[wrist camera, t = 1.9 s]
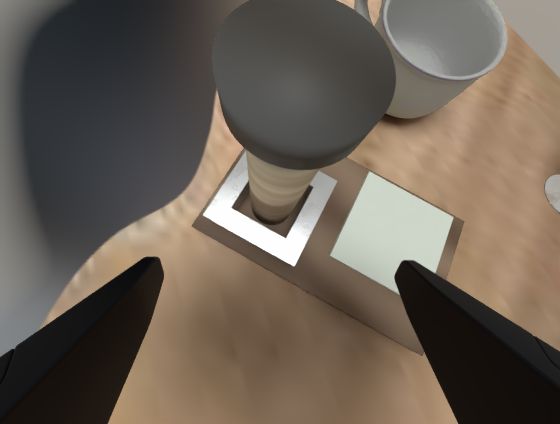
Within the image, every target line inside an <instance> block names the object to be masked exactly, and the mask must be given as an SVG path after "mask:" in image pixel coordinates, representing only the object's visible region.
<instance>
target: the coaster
mask: <svg viewBox="0 0 560 424" xmlns="http://www.w3.org/2000/svg"><path fill="white" fill-rule="evenodd" d="M453 218H454V217H452V216H451V215H449V214H447V213H445V212H443V211H441V210H440V209H438V208H436V207H434V206H432V205H430V204H429V203H427V202H425V201H423V200H421V199H419V198H418V197H416V196H414V195H412V194H410V193H408V192H407V191H405V190H403V189H401V188H399V187H397V186H396V185H394V184H392V183H390V182H388V181H386V180H385V179H383V178H381V177H379V176H377V175H375V174H373V173H372V172H370V171H369V172H368V173H367V174H366V177H365V179H364V181H363V183H362V185H361V187H360V189H359V191H358V194H357V196H356V198H355V200H354V202H353V204H352V206H351V208H350V211H349V213H348V215H347V217H346V219H345V221H344V223H343V225H342V228H341V230H340V232H339V234H338V236H337V238H336V240H335V242H334V245H333V247H332V249H331V251H330V253H329V255H328V256H330V257H331V258H333V259H335V260H337V261H338V262H340V263H342V264H344V265H346V266H347V267H349V268H351V269H353V270H355V271H356V272H358V273H360V274H362V275H364V276H365V277H367V278H369V279H371V280H373V281H374V282H376V283H378V284H380V285H382V286H383V287H385V288H387V289H389V290H390V291H392V292H394V293H396V294H398V295H399V296H400V294H399V291H398V288H397V285H396V283H395V279H394V275H395V273H396V271H397V269H398V267H399V265H400V263H401V261H403V260H414V261H416V262H418V263H419V264H421V265H423V266H424V267H426V268H427V269H429V270H431V271H432V272H434V273H436V270H437V267H438V264H439V261H440V258H441V254H442V251H443V248H444V245H445V242H446V239H447V236H448V233H449V230H450V227H451V224H452V221H453Z"/></svg>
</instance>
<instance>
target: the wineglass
mask: <svg viewBox="0 0 560 424" xmlns="http://www.w3.org/2000/svg"><path fill="white" fill-rule="evenodd" d="M545 192H546V196H547V198H548V200H549V202H550V204H551V205H552V206H553V207H554V208H555V209H556V210H557V211H558V212H560V175H558V174H557V175H552V176H551V177H549V178H548V179H547V181H546V183H545Z"/></svg>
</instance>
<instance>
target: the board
mask: <svg viewBox="0 0 560 424" xmlns="http://www.w3.org/2000/svg"><path fill="white" fill-rule="evenodd" d="M245 151H246V149H245V148H243V150H242V151H241V153H240V154H239V156H238V157H237V159H236V160H235V162H234V163H233V165H232V166H231V168H230V169H229V171H228V172H227V174H226V175H225V177H224V178H223V180H222V181H221V183H220V184H219V186H218V187H217V189H216V190H215V192H214V193H213V195H212V196H211V198H210V199H209V201H208V202H207V204H206V205H205V207H204V208H203V210H202V211H201V213H200V214H199V216H198V217H197V219H196V220H195V221H194V223H193V224H192V227H194V228H196V229H197V230H199V231H201V232H203V233H204V234H206V235H208V236H210V237H212V238H213V239H215V240H217V241H219V242H220V243H222V244H224V245H226V246H227V247H229V248H231V249H233V250H235V251H236V252H238V253H240V254H242V255H243V256H245V257H247V258H249V259H251V260H252V261H254V262H256V263H258V264H259V265H261V266H263V267H265V268H267V269H268V270H270V271H272V272H274V273H275V274H277V275H279V276H281V277H283V278H284V279H286V280H288V281H290V282H291V283H293V284H295V285H297V286H298V287H300V288H302V289H304V290H306V291H307V292H309V293H311V294H313V295H314V296H316V297H318V298H320V299H322V300H323V301H325V302H327V303H329V304H330V305H332V306H334V307H336V308H338V309H339V310H341V311H343V312H345V313H346V314H348V315H350V316H352V317H354V318H355V319H357V320H359V321H361V322H362V323H364V324H366V325H368V326H369V327H371V328H373V329H375V330H377V331H378V332H380V333H382V334H384V335H385V336H387V337H389V338H391V339H393V340H394V341H396V342H398V343H400V344H401V345H403V346H405V347H407V348H409V349H410V350H412V351H414V352H416V353H417V354H419V355H421V356H423V353H424V350H423V348H422V346H421V344H420V342H419V340H418V337H417V335H416V333H415V331H414V329H413V327H412V325H411V323H410V320H409V318H408V316H407V313H406V310H405V308H404V305H403V302H402V299H401V297H400V296H399V295H398V294H396V293H394V292H392V291H390V290H389V289H387V288H385V287H383V286H382V285H380V284H378V283H376V282H374V281H373V280H371V279H369V278H367V277H365V276H364V275H362V274H360V273H358V272H356V271H355V270H353V269H351V268H349V267H347V266H346V265H344V264H342V263H340V262H338V261H337V260H335V259H333V258H331V257H330V256H328V255H329V253H330V251H331V249H332V247H333V245H334V242H335V240H336V238H337V236H338V234H339V232H340V230H341V228H342V225H343V223H344V221H345V219H346V217H347V215H348V213H349V211H350V208H351V206H352V204H353V202H354V200H355V198H356V196H357V194H358V191H359V189H360V187H361V185H362V183H363V181H364V179H365V177H366V174H367V173H368V172H369V171H370V172H372V173H373V174H375V175H377V176H379V177H381V178H383V179H385V180H386V181H388V182H390V183H392V184H394V185H396V186H397V187H399V188H401V189H403V190H405V191H407V192H408V193H410V194H412V195H414V196H416V197H418V198H419V199H421V200H423V201H425V202H427V203H429V204H430V205H432V206H434V207H436V208H438V209H440V210H441V211H443V212H445V213H447V214H449V215H451V216H452V217H454V218H453V221H452V224H451V227H450V230H449V233H448V236H447V239H446V242H445V245H444V248H443V251H442V254H441V258H440V261H439V264H438V267H437V270H436V273H435V274H437V275H438V276H440V277H442V278H443V279H445V280H446V279H447V276H448V273H449V269H450V266H451V263H452V260H453V256H454V253H455V250H456V247H457V244H458V240H459V237H460V234H461V231H462V227H463V224H464V221H463V220H461V219H459V218H457V217H455V216H454V215H452V214H450V213H448V212H446V211H444V210H443V209H441V208H439V207H437V206H435V205H433V204H432V203H430V202H428V201H426V200H424V199H422V198H421V197H419V196H417V195H415V194H413V193H411V192H410V191H408V190H406V189H404V188H402V187H400V186H399V185H397V184H395V183H393V182H391V181H389V180H388V179H386V178H384V177H382V176H380V175H378V174H376V173H375V172H373V171H371V170H369V169H367V168H365V167H364V166H362V165H360V164H358V163H356V162H354V161H353V160H351V159H349V158H347V157H345V158H344V159H342V160H341V161H339V162H337V163H335V164H332V165H330V166H327V167H324V168H320V169H319V171H320V172H322V173H324V174H326V175H328V176H329V177H331V178H333V179H335V180H337V183H336V185H335V187H334V189H333V191H332V193H331V195H330V197H329V199H328V201H327V203H326V205H325V207H324V209H323V211H322V213H321V215H320V217H319V219H318V221H317V223H316V225H315V227H314V229H313V230H312V232H311V234H310V236H309V238H308V240H307V242H306V244H305V246H304V248H303V250H302V252H301V254H300V256H299V258H298V260H297V262H296V264H295V266H288V265H287V264H285V263H283V262H281V261H280V260H278V259H276V258H274V257H272V256H271V255H269V254H267V253H265V252H264V251H262V250H260V249H258V248H256V247H255V246H253V245H251V244H249V243H248V242H246V241H244V240H242V239H240V238H239V237H237V236H235V235H233V234H231V233H230V232H228V231H226V230H224V229H223V228H221V227H219V226H217V225H215V224H214V223H212V222H210V221H209V220H208V219H207V218H205V217H204V216H203V214H204V213H205V211H206V210H207V208H208V207H209V205H210V204H211V202H212V201H213V199H214V198H215V196H216V194H217V193H218V191H219V190H220V188H221V187H222V185H223V184H224V182H225V181H226V179H227V178H228V176H229V175H230V173H231V172H232V170H233V169H234V167H235V166H236V164H237V163H238V161H239V160H240V158H241V157H242V155H243V154H244V152H245ZM306 197H307V196H306V195H304V194H303V195H302V197H301V198H300V200H299V201H298V203H297V204H296V206H295V207H294V209H293V210H292V212H291V213H290V215H289V216H288V218H287V219H286V220H285V221H283V222H282V223H280V224H277V225H267V224H264V223H262V222H260V221H259V220H258V219H257V218H256V217H255V216H254V214H253V212H252V207H251V197H250V191H249V192H248V194H247V195H246V197H245V199H244V200H243V202H242V203H241V205H240V207H239V208H238V210H237V212H239V213H241V214H243V215H244V216H246V217H248V218H250V219H252V220H253V221H255V222H257V223H259V224H261V225H262V226H264V227H266V228H268V229H269V230H271V231H273V232H275V233H277V234H278V235H280V236H282V237H284V238H285V236H286V234H287V232H288V230H289V229H290V227H291V225H292V223H293V221H294V219H295V217H296V216H297V214H298V212H299V210H300V208H301V206H302V204H303V203H304V201H305V199H306Z"/></svg>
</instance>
